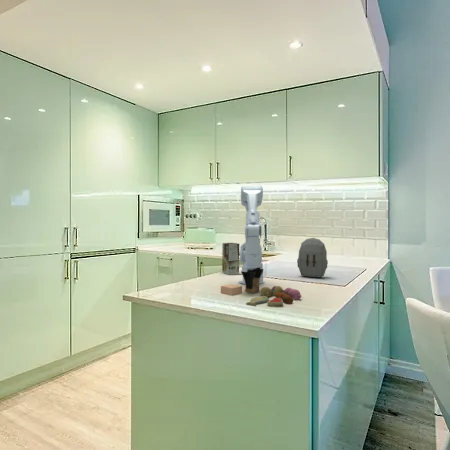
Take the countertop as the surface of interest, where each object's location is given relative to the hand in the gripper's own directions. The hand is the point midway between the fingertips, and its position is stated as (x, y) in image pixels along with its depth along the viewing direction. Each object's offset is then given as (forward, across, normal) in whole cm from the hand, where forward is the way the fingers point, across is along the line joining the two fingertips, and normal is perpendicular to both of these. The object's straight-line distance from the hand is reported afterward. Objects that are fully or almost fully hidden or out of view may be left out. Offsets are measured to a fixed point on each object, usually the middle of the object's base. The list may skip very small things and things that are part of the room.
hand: (252, 287), depth 142 cm
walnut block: (+2, 0, 0) cm, 2 cm away
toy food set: (+2, +7, +14) cm, 16 cm away
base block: (+2, +7, -6) cm, 9 cm away
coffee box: (+2, -34, -31) cm, 46 cm away
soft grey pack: (+2, -48, +9) cm, 49 cm away
